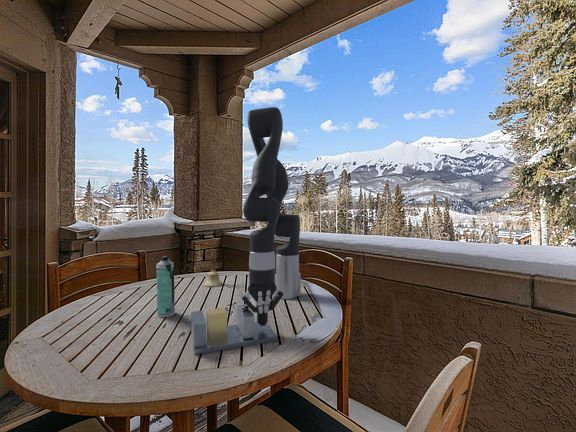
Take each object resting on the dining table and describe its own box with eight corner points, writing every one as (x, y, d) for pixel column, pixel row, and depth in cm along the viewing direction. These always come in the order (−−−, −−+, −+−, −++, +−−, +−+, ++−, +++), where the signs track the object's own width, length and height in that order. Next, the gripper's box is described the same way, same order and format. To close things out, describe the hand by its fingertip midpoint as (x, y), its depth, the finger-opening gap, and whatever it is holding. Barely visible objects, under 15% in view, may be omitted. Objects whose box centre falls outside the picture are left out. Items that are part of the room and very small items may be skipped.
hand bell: (208, 281, 146) (208, 248, 145) (225, 282, 145) (224, 249, 144) (201, 286, 138) (200, 251, 137) (218, 287, 137) (218, 252, 136)
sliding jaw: (246, 323, 93) (246, 300, 93) (254, 337, 84) (254, 312, 83) (236, 324, 92) (236, 302, 91) (244, 338, 82) (243, 313, 82)
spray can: (178, 312, 106) (177, 255, 105) (167, 318, 101) (165, 258, 100) (165, 310, 108) (164, 254, 107) (153, 316, 103) (152, 257, 102)
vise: (264, 324, 96) (264, 301, 96) (276, 340, 85) (276, 315, 85) (191, 335, 88) (190, 310, 88) (194, 354, 77) (193, 326, 77)
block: (224, 331, 88) (224, 307, 87) (227, 337, 84) (227, 312, 84) (207, 334, 86) (206, 309, 86) (208, 340, 82) (208, 314, 82)
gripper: (242, 271, 83) (243, 333, 83) (288, 267, 87) (288, 326, 88) (236, 265, 89) (237, 323, 90) (279, 262, 94) (279, 317, 95)
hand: (262, 324), depth 89 cm, fingers closed
